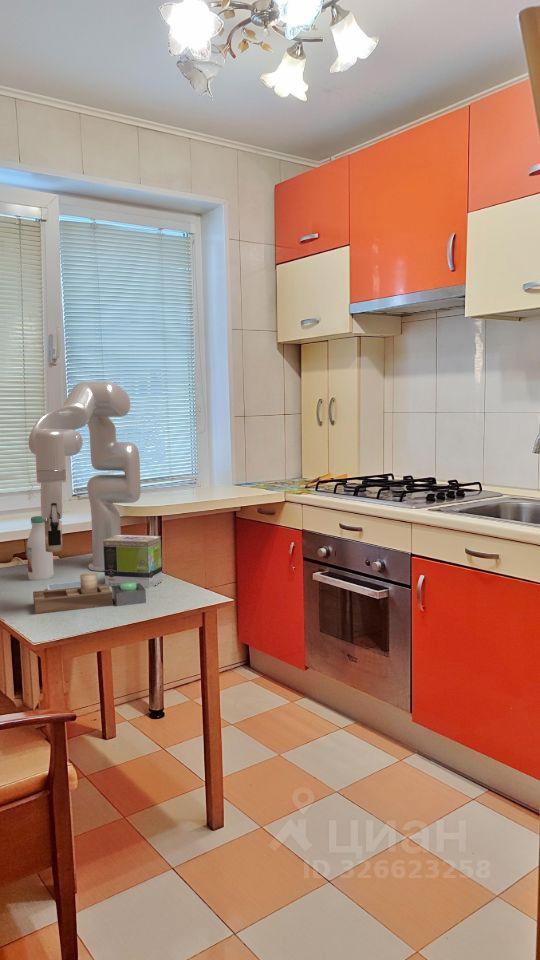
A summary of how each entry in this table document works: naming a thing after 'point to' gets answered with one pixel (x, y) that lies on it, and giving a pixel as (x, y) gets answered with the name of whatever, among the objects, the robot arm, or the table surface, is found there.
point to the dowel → (48, 548)
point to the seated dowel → (88, 583)
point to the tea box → (132, 560)
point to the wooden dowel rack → (71, 599)
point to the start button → (128, 586)
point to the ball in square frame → (128, 595)
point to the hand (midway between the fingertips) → (53, 542)
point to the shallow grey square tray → (63, 585)
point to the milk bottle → (38, 552)
